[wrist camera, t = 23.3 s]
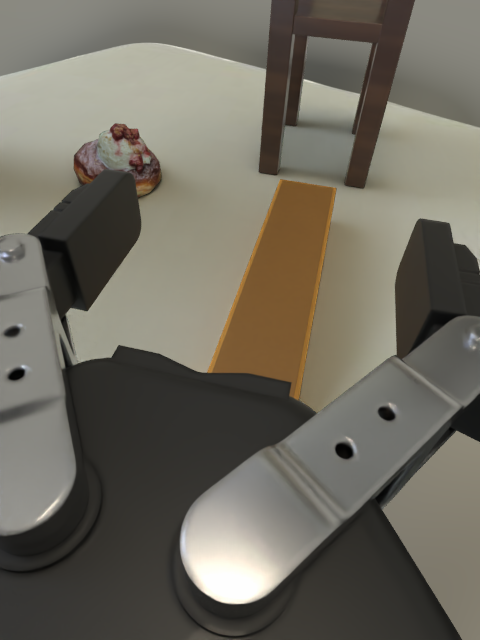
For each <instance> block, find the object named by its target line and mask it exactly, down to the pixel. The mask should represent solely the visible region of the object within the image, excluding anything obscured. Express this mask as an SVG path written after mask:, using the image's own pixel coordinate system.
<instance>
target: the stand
mask: <svg viewBox="0 0 480 640" xmlns="http://www.w3.org/2000/svg"><path fill="white" fill-rule="evenodd" d="M414 2H415V0H272V4H271V16H270V17H271V18H270V30H269V44H268V57H267V69H266V83H265V96H264V109H263V122H262V136H261V149H260V162H259V172H261V173H267V174H274V175H277V173H278V171H279V168H280V164H281V155H282V146H283V137H284V128H285V125H292V126H296V124H297V121H298V116H299V109H300V101H301V94H302V86H303V79H304V71H305V63H306V56H307V49H308V41H309V36H313V37H323V38H331V39H341V40H350V41H359V42H369V43H372V45H371V49H370V54H369V58H368V63H367V67H366V72H365V76H364V81H363V85H362V89H361V93H360V98H359V102H358V107H357V111H356V116H355V120H354V124H353V130H352V134H356V135H355V139H354V143H353V148H352V152H351V156H350V160H349V165H348V169H347V173H346V178H345V185H346V186H353V187H359V188H364V186H365V182H366V179H367V175H368V171H369V167H370V164H371V160H372V156H373V153H374V149H375V145H376V142H377V138H378V134H379V131H380V127H381V123H382V120H383V116H384V112H385V109H386V105H387V101H388V97H389V94H390V90H391V86H392V83H393V79H394V75H395V72H396V68H397V64H398V61H399V57H400V53H401V50H402V46H403V42H404V39H405V35H406V31H407V28H408V24H409V20H410V16H411V13H412V9H413V5H414Z"/></svg>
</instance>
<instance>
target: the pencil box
mask: <svg viewBox="0 0 480 640" xmlns="http://www.w3.org/2000/svg"><path fill="white" fill-rule="evenodd" d="M335 194H336V188H333V187H327V186H320V185H314V184H307V183H301V182H295V181H288V180H282V179H280V181H279V184H278V186H277V189H276V192H275V194H274V197H273V200H272V202H271V205H270V208H269V210H268V213H267V216H266V218H265V221H264V223H263V226H262V229H261V231H260V234H259V237H258V239H257V242H256V245H255V247H254V250H253V253H252V255H251V258H250V261H249V263H248V266H247V268H246V271H245V274H244V276H243V279H242V282H241V284H240V287H239V290H238V292H237V295H236V298H235V300H234V303H233V306H232V308H231V311H230V313H229V316H228V319H227V321H226V324H225V327H224V329H223V332H222V335H221V337H220V340H219V343H218V345H217V348H216V351H215V353H214V356H213V359H212V361H211V364H210V366H209V369H208V372H207V373H250V374H255V375H260V376H264V377H269V378H274V379H278V380H283V381H288V382H292V384H291V389H290V394H289V396H291V397H293V398H295V399H297V400H299V396H300V390H301V384H302V379H303V373H304V368H305V362H306V356H307V351H308V345H309V340H310V334H311V328H312V323H313V317H314V312H315V306H316V300H317V295H318V289H319V284H320V278H321V272H322V267H323V261H324V256H325V250H326V244H327V239H328V233H329V228H330V222H331V216H332V211H333V205H334V200H335Z"/></svg>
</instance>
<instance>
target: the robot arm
mask: <svg viewBox="0 0 480 640" xmlns="http://www.w3.org/2000/svg"><path fill="white" fill-rule="evenodd" d="M140 231H141V216H140V209H139V203H138V196H137V189H136V183H135V178H134V176H133V174H132V173H129V172H123V171H116V170H110V169H104V170H103V171H102V172H101V173H100V174H99V175H98V176H97V177H96V178H95V179H94V180H93V181H92V182H91V183H90V184H89V183H87V184H85V185H83V186H81V187H79V188H77V189H74V190H72V191H71V192H70V193H69V194H68V195H67V196H66V197H65V198H64V199H63V200H62V203H59V204H58V205H57V206H56V207H55V208H54V211H52V210H51V211H50V212H49V213H48V214H47V215H46V216H45V217H44V218H43V219H42V220H41V221H40V222H39V223H38V224H37V225H36V226H35V227H34V228H33V229H32V230H31V231H30V232H29V233H28V234H19V233H18V234H9V235H4V236H1V237H0V640H462V639H461V637H460V635H459V634H458V632H457V630H456V629H455V627H454V625H453V624H452V622H451V620H450V619H449V617H448V616H447V614H446V613H445V611H444V609H443V608H442V606H441V604H440V603H439V601H438V599H437V598H436V596H435V595H434V593H433V591H432V590H431V588H430V587H429V585H428V584H427V582H426V580H425V578H424V577H423V575H422V574H421V572H420V570H419V569H418V567H417V566H416V564H415V562H414V561H413V559H412V558H411V556H410V554H409V553H408V552H407V550H406V548H405V546H404V545H403V543H402V542H401V540H400V538H399V537H398V535H397V533H396V532H395V530H394V528H393V527H392V525H391V524H390V522H389V521H388V519H387V517H386V516H385V514H384V512H383V511H382V509H383V508H384V507H385V506H386V505H387V504H388V503H389V502H390V501H391V500H392V499H393V498H394V497H395V495H396V494H397V493H398V492H399V491H400V490H401V489H402V488H403V486H404V485H405V484H406V483H407V482H408V481H409V480H410V478H411V477H412V476H413V475H414V474H415V473H416V472H417V471H418V470H419V469H420V468H421V467H422V466H423V465H424V464H425V463H426V462H427V461H428V460H429V458H430V457H431V456H432V455H433V454H434V453H435V452H436V451H437V450H438V449H439V448H440V447H441V446H442V445H443V444H444V443H445V442H446V441H447V440H448V439H449V438H450V437H451V436H452V435H453V434H454V433H455V432H456V431H459V432H461V433H463V434H465V435H467V436H469V437H471V438H473V439H475V440H477V441H479V442H480V275H479V273H480V270H479V266H478V262H477V258H476V257H475V256H474V255H473V254H472V253H471V251H470V250H469V249H468V248H467V247H466V246H465V245H461V244H455V243H453V238H452V232H451V227H450V224H449V223H446V222H439V221H433V220H426V219H419V220H418V221H417V222H416V224H415V227H414V229H413V232H412V234H411V237H410V239H409V242H408V245H407V247H406V250H405V252H404V255H403V257H402V260H401V263H400V265H399V268H398V272H397V276H396V282H395V304H396V342H397V355H394V356H391V357H390V358H388V359H387V360H385V361H384V362H383V363H382V364H380V365H379V366H378V367H376V368H375V369H374V370H373V371H371V372H370V373H369V374H367V375H366V376H365V377H364V378H362V379H361V380H360V381H358V382H357V383H356V384H355V385H353V386H352V387H351V388H349V389H348V390H347V391H346V392H344V393H343V394H342V395H340V396H339V397H338V398H337V399H335V400H334V401H333V402H331V403H330V404H329V405H328V406H326V407H325V408H324V409H322V410H321V411H320V412H319V413H316V412H315V411H313V410H312V409H311V408H310V407H308V406H307V405H305V404H304V403H302V402H301V401H299V400H297V399H295V398H293V397H291V396H289V394H290V389H291V384H292V382H288V381H283V380H278V379H274V378H269V377H264V376H260V375H255V374H250V373H201V372H197V371H194V370H192V369H190V368H188V367H186V366H184V365H182V364H179V363H177V362H175V361H173V360H171V359H169V358H167V357H165V356H163V355H161V354H157V353H153V352H148V351H143V350H139V349H134V348H129V347H125V346H120V345H118V347H117V349H116V351H115V352H114V354H113V356H112V357H111V358H101V359H94V360H89V361H85V362H81V363H78V360H77V356H76V351H75V347H74V343H73V338H72V334H71V329H70V325H69V321H68V318H67V315H66V313H67V312H68V310H69V309H70V308H74V309H79V310H84V311H88V310H89V308H90V307H91V305H92V304H93V303H94V301H95V300H96V298H97V297H98V295H99V294H100V293H101V291H102V290H103V288H104V287H105V285H106V284H107V283H108V281H109V280H110V278H111V277H112V275H113V274H114V273H115V271H116V270H117V268H118V267H119V266H120V264H121V263H122V261H123V260H124V258H125V257H126V256H127V254H128V253H129V251H130V250H131V248H132V247H133V246H134V244H135V243H136V241H137V240H138V238H139V235H140Z"/></svg>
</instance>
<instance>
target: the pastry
mask: <svg viewBox="0 0 480 640" xmlns="http://www.w3.org/2000/svg"><path fill="white" fill-rule="evenodd" d="M104 169H110V170H116V171H123V172H129V173H132V174H133V176H134V178H135V183H136V189H137V196H138V197H140V196H143V195H145V194H148V193H150V192H151V191H152V190H153V189H154V187H155V186H156V185H157V184H158V183H159V181H160V180H161V176H162V175H161V169H160V164H159V161H158V159H157V158H156V157H155V155H154V154H153V153H152V152H151V151H150V150H149V149H148V148H147V146H146V144H145V143H144V141H143V140H142V138H141V137H140V136H139V132H138V129H129V128H128V127H127V126H126V125H125V124H114V125H113V126H112V127H111V129H110V130H108V131H104V132H102V133H101V134H100V136H99V139H97V140H95V141H91V142H88V143H85V144H84V145H83V146H82V147H81V148H80V149H79V151H78V152H77V153H76V154H75V155H74V171H75V173H76V175H77V177H78V180H79V182H80V183H81V184H82V185H85V184H87V183H89V184H90V183H91V182H92V181H93V180H94V179H95V178H96V177H97V176H98V175H99V174H100V173H101V172H102V171H103V170H104Z"/></svg>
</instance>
